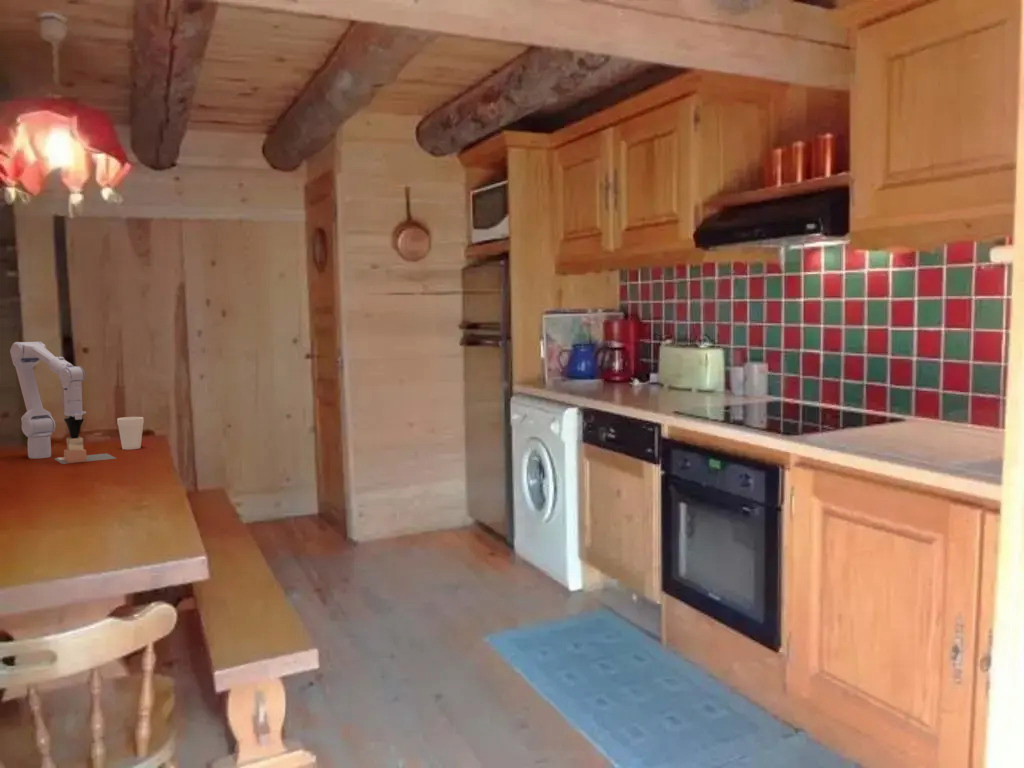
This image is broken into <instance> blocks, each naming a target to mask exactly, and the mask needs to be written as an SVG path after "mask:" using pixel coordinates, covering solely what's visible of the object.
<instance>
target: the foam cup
mask: <svg viewBox="0 0 1024 768" xmlns="http://www.w3.org/2000/svg"><path fill="white" fill-rule="evenodd" d="M116 420H117V421H116V423H117V427H118V428H117V429H118V433H119V438H120V443H121V448H122V450H137V449H138V450H139V449H141V446H142V437H143V431H144V430H143V429H144V424H145V420H144V417H143V416H125V417H118V418H117V419H116Z"/></svg>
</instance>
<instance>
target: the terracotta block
mask: <svg viewBox="0 0 1024 768" xmlns="http://www.w3.org/2000/svg"><path fill="white" fill-rule="evenodd" d="M87 455H88V454H87V449H84V448H83V450H80V451H68V450H67V449H64V450H63V457H64V461H66V462H67V463H68V464H75V463H74V462H77V463H84V461H87ZM87 462H88V461H87Z"/></svg>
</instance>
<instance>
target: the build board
mask: <svg viewBox="0 0 1024 768" xmlns="http://www.w3.org/2000/svg"><path fill="white" fill-rule="evenodd" d="M57 458H58V457H55V458H54V459H53V460H55V461H57V462H58V463H60V464H62V465H66V464H69V463H67V462H66V461H64V460H59V459H57ZM114 459H115V460H116V459H117V457H115V456H113V455H111V454H110V453H107V452H106V453H98V454H96V453H95V454H87V461H84V462H95V461H97V462H98V461H105V460H114ZM84 462H83V463H84ZM76 463H78V462H74V463H73V464H76Z"/></svg>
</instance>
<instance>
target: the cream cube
mask: <svg viewBox="0 0 1024 768" xmlns="http://www.w3.org/2000/svg"><path fill="white" fill-rule="evenodd" d="M83 449H84V438H83V437H82V436H78V438H71V437H66V450H68V451H80V450H83Z"/></svg>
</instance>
